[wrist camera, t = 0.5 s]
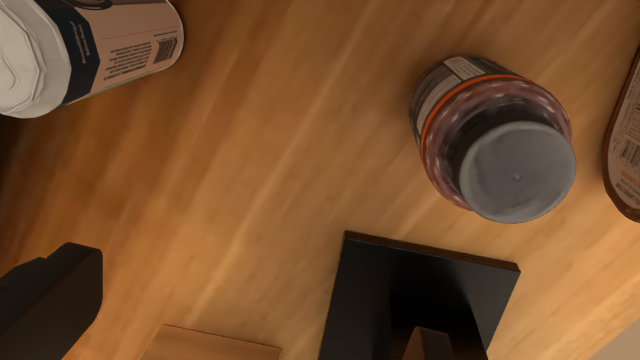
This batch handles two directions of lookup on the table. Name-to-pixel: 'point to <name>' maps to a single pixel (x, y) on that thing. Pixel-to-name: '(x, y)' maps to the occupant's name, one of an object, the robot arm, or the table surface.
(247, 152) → the table surface
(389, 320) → the shelf stand
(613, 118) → the tin
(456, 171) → the supplement bottle
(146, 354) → the box
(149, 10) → the beer can
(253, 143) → the table surface
